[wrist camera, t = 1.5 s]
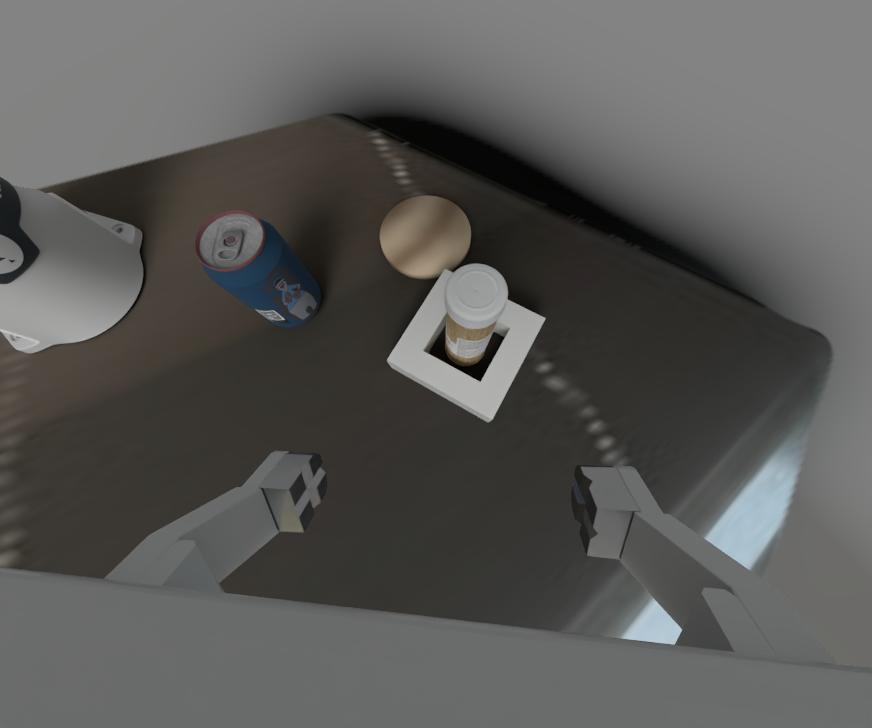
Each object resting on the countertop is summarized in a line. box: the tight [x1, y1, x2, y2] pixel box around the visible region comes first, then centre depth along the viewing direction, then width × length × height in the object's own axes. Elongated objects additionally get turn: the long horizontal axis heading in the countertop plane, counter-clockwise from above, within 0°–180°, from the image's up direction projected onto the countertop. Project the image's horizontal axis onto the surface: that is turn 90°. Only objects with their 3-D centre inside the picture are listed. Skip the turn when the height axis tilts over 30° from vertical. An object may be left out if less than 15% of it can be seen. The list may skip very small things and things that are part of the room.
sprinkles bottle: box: [445, 264, 508, 366], centre depth 29 cm, size 5×5×13 cm
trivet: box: [380, 196, 471, 279], centre depth 38 cm, size 11×11×1 cm
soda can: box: [194, 210, 321, 327], centre depth 31 cm, size 7×7×12 cm
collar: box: [387, 269, 546, 422], centre depth 34 cm, size 12×12×3 cm
